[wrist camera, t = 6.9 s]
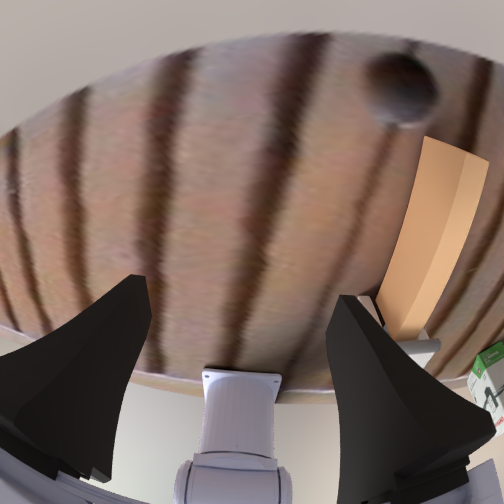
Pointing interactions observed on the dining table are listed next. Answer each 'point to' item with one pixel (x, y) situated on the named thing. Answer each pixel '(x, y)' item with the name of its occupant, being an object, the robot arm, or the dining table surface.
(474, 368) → the ink box
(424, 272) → the tan rectangular bar
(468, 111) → the dining table surface
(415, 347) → the box
